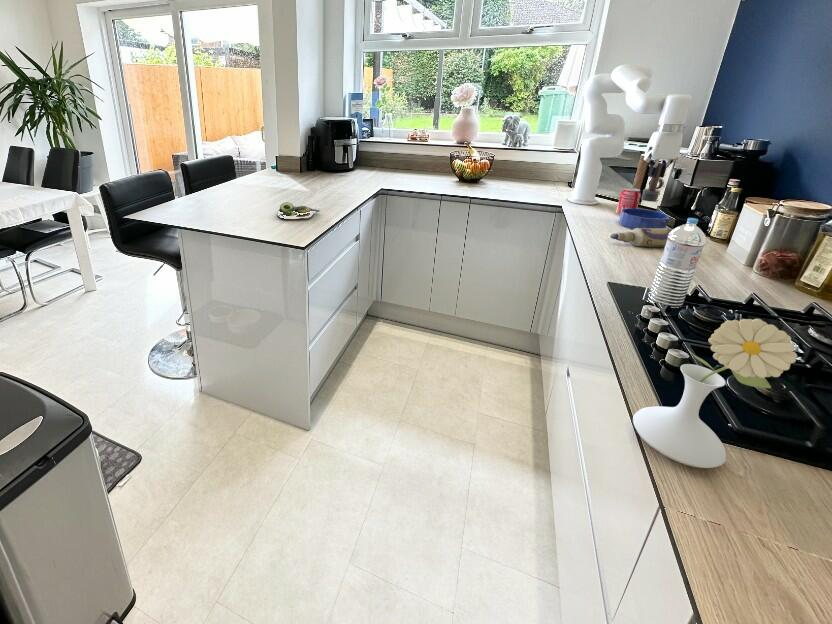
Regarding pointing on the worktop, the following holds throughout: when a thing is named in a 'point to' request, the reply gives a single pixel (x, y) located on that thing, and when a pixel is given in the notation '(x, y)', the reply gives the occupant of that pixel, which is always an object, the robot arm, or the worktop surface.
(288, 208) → the salad plate
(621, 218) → the blue bowl
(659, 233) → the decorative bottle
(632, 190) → the soda can
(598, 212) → the worktop surface
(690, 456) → the flower in vase
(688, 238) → the water bottle
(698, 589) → the worktop surface
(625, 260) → the worktop surface
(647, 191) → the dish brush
